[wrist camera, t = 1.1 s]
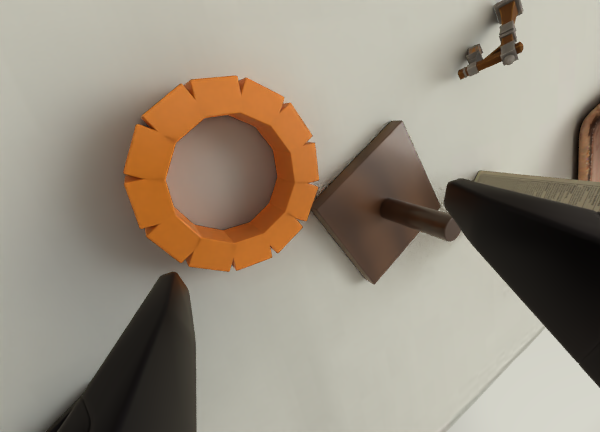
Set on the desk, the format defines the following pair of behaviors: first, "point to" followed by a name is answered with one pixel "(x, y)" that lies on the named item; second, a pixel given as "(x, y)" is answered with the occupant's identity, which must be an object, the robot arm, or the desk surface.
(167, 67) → the desk surface
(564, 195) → the box
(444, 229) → the brown peg stand
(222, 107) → the orange ring
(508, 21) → the wooden post with brackets
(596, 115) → the case
